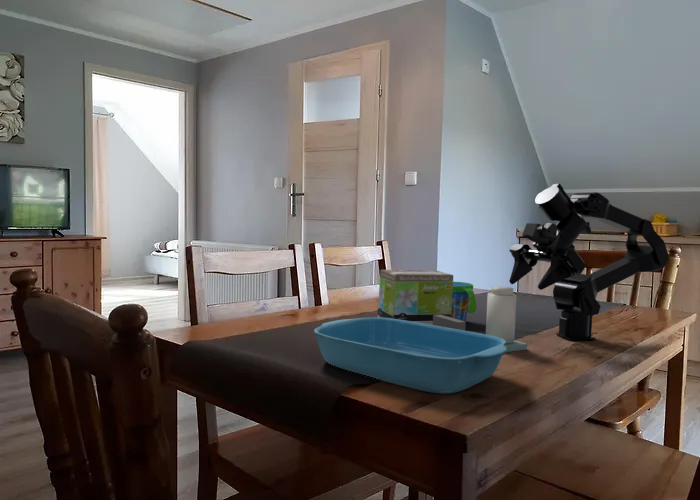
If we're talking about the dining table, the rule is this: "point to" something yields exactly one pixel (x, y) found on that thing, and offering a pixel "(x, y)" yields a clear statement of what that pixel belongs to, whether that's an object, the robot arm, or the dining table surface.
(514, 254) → the robot arm
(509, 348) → the stud rail
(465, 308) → the snack cup
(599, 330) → the dining table surface
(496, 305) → the white pill bottle
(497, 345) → the casserole dish
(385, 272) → the tea box
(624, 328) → the dining table surface
